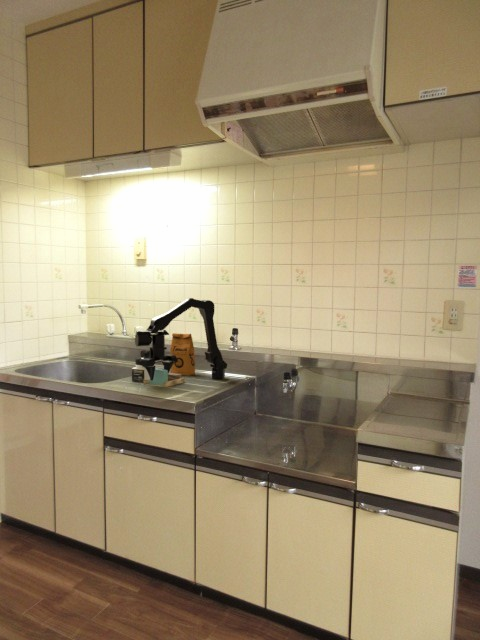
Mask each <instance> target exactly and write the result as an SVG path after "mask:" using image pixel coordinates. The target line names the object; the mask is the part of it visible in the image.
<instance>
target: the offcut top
mask: <svg viewBox="0 0 480 640" xmlns="http://www.w3.org/2000/svg"><path fill="white" fill-rule="evenodd" d="M168 378H170V379H179V378H182V375H181V374H175V373H171V372H169V373H168Z"/></svg>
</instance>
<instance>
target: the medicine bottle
mask: <svg viewBox="0 0 480 640" xmlns="http://www.w3.org/2000/svg"><path fill="white" fill-rule="evenodd" d="M141 359H144V358H141V356H139V357H137V358H135V367H132V368H131V381H133V382H139V383H144V380H145V379H149V378H150V377H149V374H148V372H147V370H146V368H145V367H142V366H141V365H140V360H141Z"/></svg>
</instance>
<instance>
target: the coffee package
mask: <svg viewBox="0 0 480 640" xmlns="http://www.w3.org/2000/svg"><path fill="white" fill-rule="evenodd" d="M171 336H172V339H171V343H170V348H169V351H170V355H175V356H176V357H177V361H174V362H175V363H174V364H173V365H172V367H171V369H170V373H175V374H181V376H184V377H185V376H187V377H188V376H193V375H196V355H195V348H194V347H195V346H194V341H193V337H192V334H191V333H177V332H176V333H172V335H171Z"/></svg>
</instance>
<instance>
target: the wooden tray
mask: <svg viewBox="0 0 480 640" xmlns="http://www.w3.org/2000/svg"><path fill="white" fill-rule="evenodd" d="M185 382H186V378H185V377H181V378H180V379H176V380H172V381H168V382H164V383H163V386H161V385H154V384H150V378H149V379H145V380H144V382H143V385H148V386H152V387H153V386H154V387H159V388H168V387H172V386H176V385H178V384H179V385H180V384H184V383H185Z"/></svg>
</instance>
